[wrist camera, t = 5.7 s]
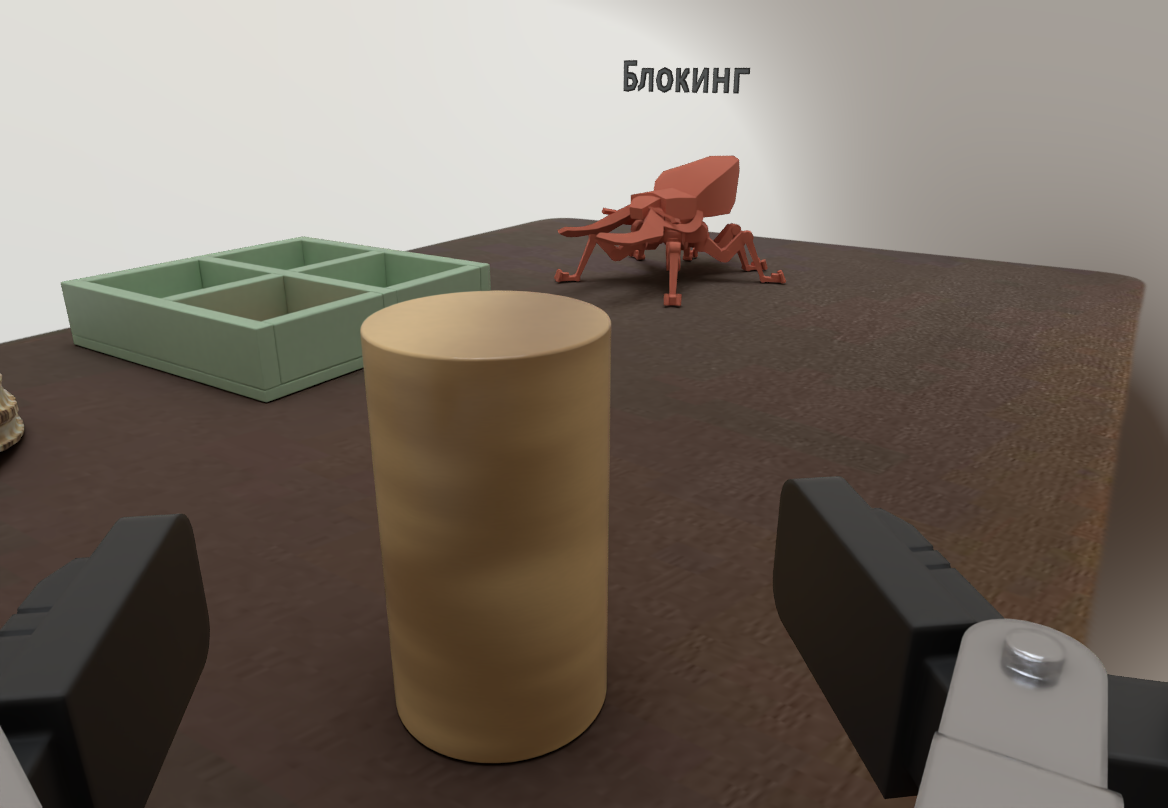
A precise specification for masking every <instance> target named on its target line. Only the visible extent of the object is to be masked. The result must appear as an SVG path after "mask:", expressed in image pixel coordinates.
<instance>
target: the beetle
mask: <svg viewBox="0 0 1168 808" xmlns="http://www.w3.org/2000/svg"><path fill="white" fill-rule="evenodd" d="M628 66H637V60H633V61H630V60H628V61H624V91H627V92H629V91H632V90H635V88H636V86H637V83H638V80H637V77H636V74H634V73H633V72H628V68H629V67H628ZM718 71H719V68H714V72H713V91H712V93H717V90H718V83H724V93H729V78H730V68H725V76H724V77H718V73H719V72H718ZM647 73H649V92H650V91H651V92H653V77H654V75H653V74H654V68H642V72H641V82H640V85H638V91H639V90H641V89H642V88H644V87H645V80H646V74H647ZM689 73H690V72H689V68H686V69H685V70H684V72H683V74H682V76H681V68H677V69H676V91H675V92H680V84H681V85H682V88H683V90H684V92H689V88H688V85H687V82H686V80H685V79H686V77H687V75H688V74H689ZM663 74H667V77H668V82H667V85H666V86H665V87H664V86H663V85H662V80H661V79H662V75H663ZM697 74H698V68H693V86H692V87H693V88H692V92H693V93H697V91H698V89H699V87H700V85H701V83H702V81H703V79H704V88H703V92H704V93H708V80H709V68H704V70H703V72H702V74H701V76H700V78H699V80H698V82H697ZM740 74H750V68H735V74H734V90H733V92H734V93H739V77H740V76H739V75H740ZM628 78H629V79H632V81H633V83H632V85H628ZM673 81H674V80H673V75H672V71H671V70H670V69H668V68H666V67H664V68H662V69H661V70H659V71H658V74H657V78H656V83H657V87H658V90H660V91H662V92H664V93H665V92H667V91H669V90H671V87H672V84H673ZM738 178H739V159H738V158H736V157H735V156H709V157H706V158H703V159H700V160H697V161H694V162H691V163H688V164H685V165H682V166H679V167H676V168H672V169H669V170H666V171H663V172H662V174H661V175H660V176H659V177H658V179H657V180H656V181H655V186H654V191H651V192H645V193H639V194H634V195H631V204H630V205H628V206H626V207H624V208H622V209H619V210H618V211H616V210H612V209H606V208H603V210H602V213H603V214H608V216H607V217H605V218H603V219H601V220H599V221H598V222H596V223H594V224H591V225H588V226H584V227H564V228H562V229H559V230H558V232H559V234H561V235H564V236H566V237H579V236H585V235H588V236H589V240H588V242H587V245H586V248H585V250H584V253H583V256H582V258H581V261H580V264H579V266H578V269H577V272H576V274H574V275H571V276H569V273H568V272H562V270H560V269H557V272H556V275H555V277H554V279H556V281H557V282H560V281H579V280H580V276H581V274H582V272H583V270H584V267H585V265H586V263H587V261H588V259H589V257H590V255H591V253H592V251H593V249H594V247H595V245H596V243H597V244H598V245H599V246H600V247H601V248H602V249H603V250H604V251H605V252H606V253H607V254H608V255H609V257H610V258H611V259H612V260H613V261H620V260H622V259H623V258H625V257H626V256H628V255H629V256H634V257H635V258H636V260H643V259H645V255H644V250H654V249H656V248H657V247H658V245H659V244H662V242H663V243H665V245H666V271H670V277H669V294H664V305H676V306H681V294H676V285H677V272H678V271H680V254H681V250H684V256H683V260H690V261H691V260H692V258H693V257H697V256H698V252H706V253H708V254H709V255H711V256H712V257H714V258H715V259H717V260H718V261H720V262H721V261H722V262H729V261H730V260H731V258H732V257H733V256H734V255H735V254H736V253H738V255H739V258H740V260H741V263H742V269H743V270H746V271H750V270H757V271H758V274H759V276H760V281H761V282H762V283H764V282H781V284H782V283H785V282H786V280H785V277H784V274H783V272H782V270H779V271H777V272H778V274H776V273H771V277H767V276H764V274H763V271H762V269H763V270H766V269H768V268H767V264H766V261H765V260H761V261H760V258H758V256H757V253H756V250H755V247H754V244H753V234H752V233H751V232H750V231H741V227H740V226H739V225H737V224H733V223H731V224H727V225H726V226H725V228H724V229H723V230H722V231H721V232H720V234H719V235H718V236H717V237H716V238H715V239H714V241H713V240H712V239H711V238H710V237H709V233H708V227H707V225H706V224H705V222H703V221H702V220H703V217H712V216H718V215H724V214H729V213H730V212H731V209H732V207H733V205H734V203H735V199H736V192H737V185H738ZM622 224H625V225H632V227H631V232H632V233H627V234H613V233H609V232H610V231H612V230H614V229H615V228H617V227H619V226H620V225H622ZM731 240H732V241H731ZM730 241H731V242H730ZM729 242H730V243H729ZM745 243H746V245H747V247H748V250H749V252H750V255H751V257H752V259H753V262H751V265H749V264H748V261H747V257H746V253H745V249H744V245H745ZM614 245H620V246H619V248H618V247H616V246H614ZM690 247H692V248H693V250H690ZM722 262H721V263H722Z"/></svg>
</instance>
